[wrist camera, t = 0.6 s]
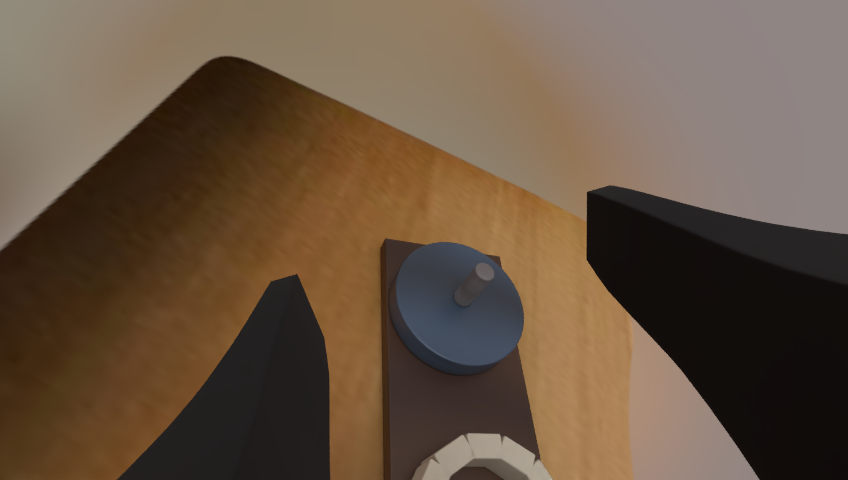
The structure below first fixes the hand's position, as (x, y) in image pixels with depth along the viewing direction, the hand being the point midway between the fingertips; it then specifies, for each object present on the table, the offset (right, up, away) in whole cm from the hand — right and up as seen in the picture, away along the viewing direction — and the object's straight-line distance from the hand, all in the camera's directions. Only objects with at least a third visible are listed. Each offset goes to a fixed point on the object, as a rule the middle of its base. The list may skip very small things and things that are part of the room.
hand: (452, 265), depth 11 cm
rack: (+1, -9, +16) cm, 18 cm away
